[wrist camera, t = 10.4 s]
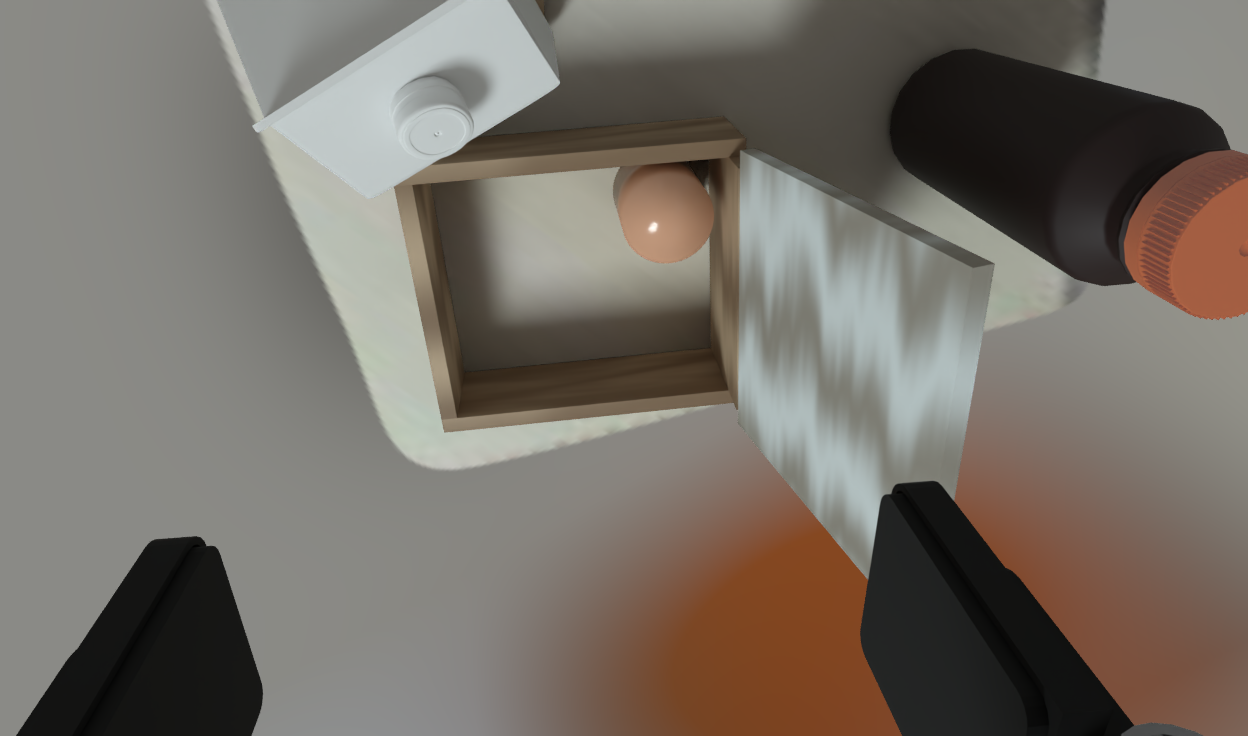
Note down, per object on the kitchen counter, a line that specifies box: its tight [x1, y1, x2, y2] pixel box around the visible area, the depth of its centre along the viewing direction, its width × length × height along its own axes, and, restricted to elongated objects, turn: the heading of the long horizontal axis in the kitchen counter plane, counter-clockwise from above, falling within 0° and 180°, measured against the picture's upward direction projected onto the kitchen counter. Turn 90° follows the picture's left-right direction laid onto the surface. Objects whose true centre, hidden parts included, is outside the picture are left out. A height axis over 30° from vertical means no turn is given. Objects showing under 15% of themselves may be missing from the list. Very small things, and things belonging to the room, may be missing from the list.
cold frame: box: [394, 116, 995, 579], centre depth 34 cm, size 14×19×22 cm
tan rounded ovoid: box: [613, 161, 714, 263], centre depth 40 cm, size 4×4×5 cm
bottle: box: [890, 49, 1248, 320], centre depth 33 cm, size 7×7×20 cm
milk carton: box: [217, 0, 560, 199], centre depth 28 cm, size 7×7×19 cm
